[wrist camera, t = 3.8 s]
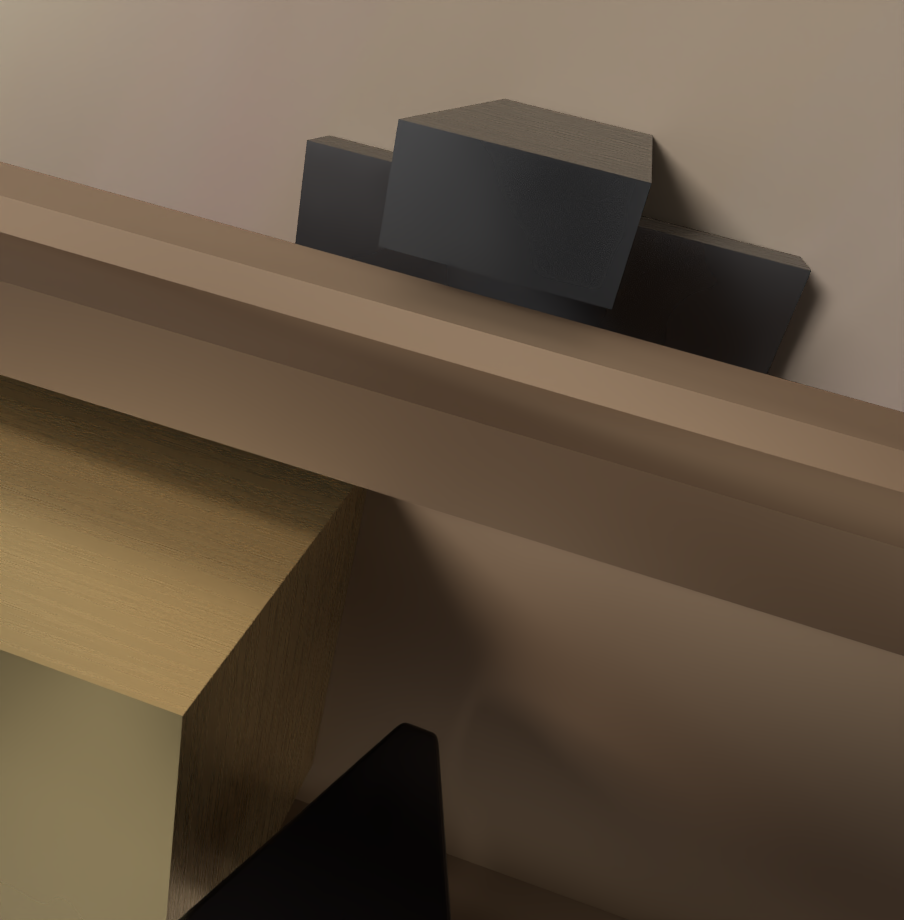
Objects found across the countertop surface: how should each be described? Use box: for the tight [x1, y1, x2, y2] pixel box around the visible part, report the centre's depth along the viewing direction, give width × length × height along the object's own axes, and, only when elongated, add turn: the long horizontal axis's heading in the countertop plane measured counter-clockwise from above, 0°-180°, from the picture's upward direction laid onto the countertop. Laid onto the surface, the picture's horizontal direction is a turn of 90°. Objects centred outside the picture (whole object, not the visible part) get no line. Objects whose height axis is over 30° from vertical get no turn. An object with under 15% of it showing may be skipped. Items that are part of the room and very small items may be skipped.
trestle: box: [295, 99, 811, 374], centre depth 13 cm, size 12×8×6 cm, turn 169°
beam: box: [0, 162, 904, 920], centre depth 10 cm, size 9×28×4 cm, turn 78°
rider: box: [0, 375, 367, 920], centre depth 9 cm, size 5×5×4 cm
